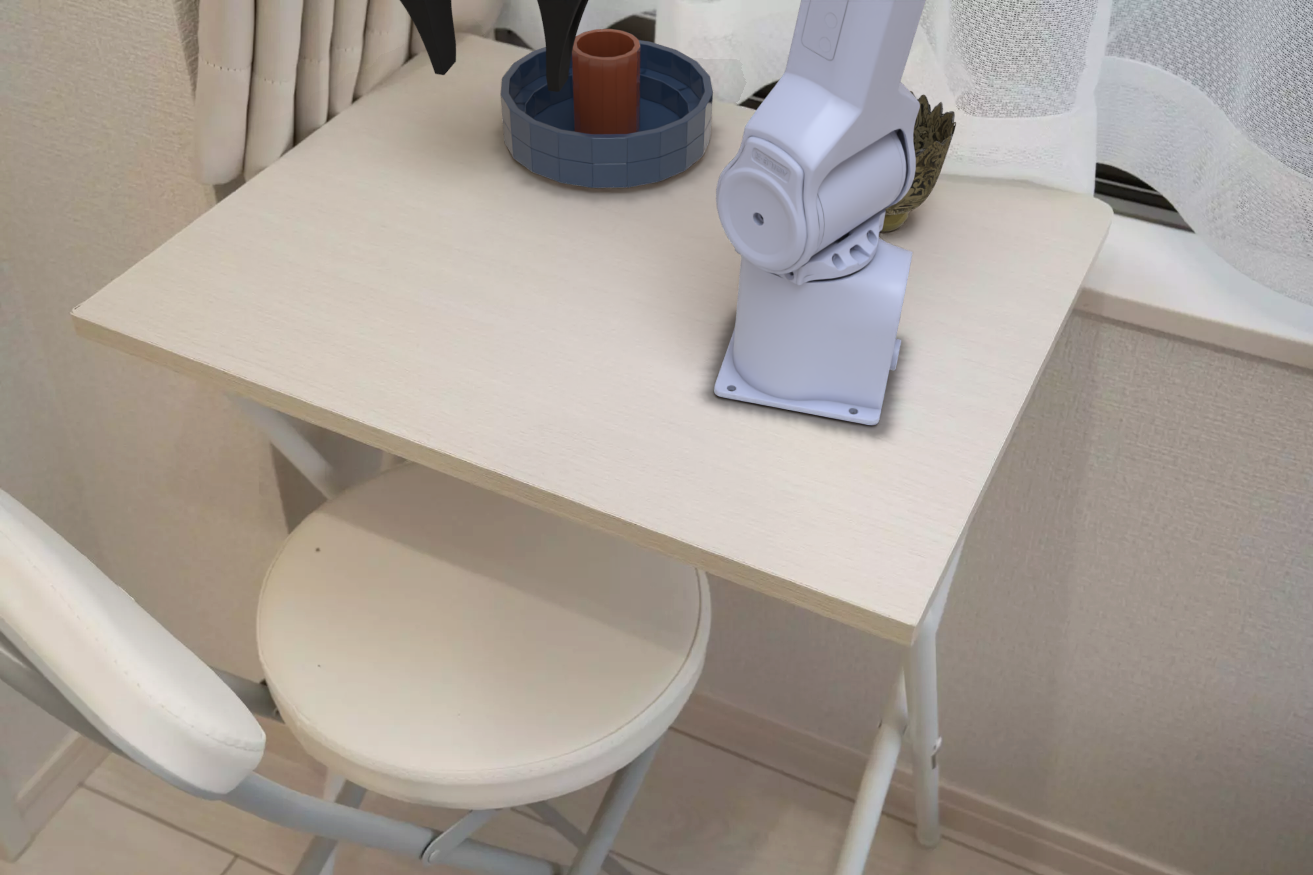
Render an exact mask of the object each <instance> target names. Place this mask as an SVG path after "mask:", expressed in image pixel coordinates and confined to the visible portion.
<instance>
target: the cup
mask: <svg viewBox="0 0 1313 875" xmlns="http://www.w3.org/2000/svg"><path fill="white" fill-rule="evenodd" d="M639 40H640V39H639V38H637V37H636V36H635V35H634V34H632V33H629V32H627V31H625V30H620V29H613V28H596V29H591V30H587V31H584V32H581V33H579V34H576V38H575V42H574V46H573V50H572V55H571V56H572V86H573V116H574V132H580V133H587V134H629V133H634V132H639V121H640V43H639Z"/></svg>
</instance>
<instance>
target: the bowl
mask: <svg viewBox="0 0 1313 875" xmlns="http://www.w3.org/2000/svg"><path fill="white" fill-rule="evenodd" d="M638 40H639V43H640V121H639V132H634V133H629V134H587V133H580V132H574V116H573V86H572V56H571V60H570V67H569V76H568V80H567V81H566V83H565V84H564V86H563V87H562V89H561V90H560V91H559V92H554V91H548V86H547V79H546V46H544V47H542V48H541V47H540V48H538V49H536V50H532V51H531V52H529V53H528V54H526V55H524V56H522V57H520V58H519V59H517V60H516V61H515V62H513V63H512V64H511V66H510V67H509V68H508V69H507V71H506V72H505V73H504V75H503V76H502V77H501V82H500V83H501V84H500V107H501V117H502V118H501V119H502V131H503V142H504V144H505V146H506V148H507V150H508V151H509V153H510V154H511V156H512V158H513V159H514V160H515V161H516V162H518V163H519V164H520V165H522V166H523V167H525V168H526V169H527V170H528V171H530V172H532V173H534V174H536V175H538V176H541V177H543V178H547V179H549V180H552V181H554V182H557V183H560V184H564V185H569V186H570V185H571V186H578V187H584V188H588V189H589V188H590V189H613V188H614V189H619V188H621V189H625V188H626V189H629V188H633V187H639V186H643V185H649V184H654V183H655V184H656V183H659V182H662V181H664V180H667V179H669V178H671V177H674V176H677V175H679V174H681V173H683V172H685V171H687V170H688V169H689V168H690V167H692V166H693V165H694V164H695V163H697V162H698V161H699V160H700V159H701V158H703V156H704V154H705V152H706V150H707V148H708V146H709V143H710V141H711V135H712V119H713V118H712V116H713V102H714V101H713V100H714V90H713V89H714V88H713V85H712V79H711V76H710V75H709V73H708V72H707V71H706V70H705V68H704V67H702V65H701V64H700V63H699V62H698V61H697V60H696V59H693V58H692V57H690V56H688V55H686V54H685V53H683V52H682V51H680V50H678V49H675V48H672V47H669V46H666V45H663V44H660V43H656V42H652V41H649V40H641V39H638Z"/></svg>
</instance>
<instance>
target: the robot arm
mask: <svg viewBox="0 0 1313 875" xmlns="http://www.w3.org/2000/svg"><path fill="white" fill-rule="evenodd" d="M926 1H927V0H800V3H799V9H798V13H797V17H796V21H795V26H794V31H793V35H792V38H791V39H792V40H791V44H790V49H789V52H788V57H787V61H786V66H785V70H784V72H783V74H782V75H781V77H780V78H779V79H778V81H777V83H775V85H774V86H773V88H772V89H771V90H770V92H769V93H768V94H767V95H766V97H765V98H764V100H762V101H761V104H759V106H757V109H756V110H755V111H754V113H753V114H752V115H751V117H750V118H749V119H748V120H747V122H746V124H745V126H744V129H743V134H742V139H741V142H740V145H739V148H738V150H737V153H736V154H735V156H734V157H733V158H732V159H731V160H730V161H729V162H728V163H727V164H726V165H725V166H724V167H723V170H722V171H721V173H720V175H719V177H718V179H717V183H716V187H715V203H716V210H717V215H718V219H719V222H720V225H721V227H722V229H723V231H724V234H725V236H726V238H727V239H728V241H729V242H730V244H731V245H732V246H733V248H734V252H736V254H738V255H740V264H739V265H740V266H739V275H738V288H737V290H738V291H737V300H736V312H735V324H734V328H733V331H732V334H731V337H730V339H729V342H728V346H727V348H726V352H725V354H724V357H723V360H722V363H721V366H720V368H719V371H718V374H717V377H716V380H715V382H714V388H713V392H714V395H716V396H718V397H720V398H725V399H730V400H735V401H741V402H746V403H752V404H756V405H761V406H767V407H773V408H776V409H777V408H778V409H783V410H789V411H793V412H800V413H804V414H810V415H813V416H814V415H815V416H820V417H825V418H830V419H836V420H840V421H847V422H852V423H857V424H862V425H867V426H875V425H878V423H879V422H880V419H881V415H882V409H883V403H884V399H885V394H886V389H887V384H888V379H889V374H890V371H896V369H897V365H898V360H899V354H900V351H901V350H900V349H901V344H902V339H901V338H897V336H898V331H899V330H898V329H899V326H900V322H901V321H900V320H901V314H902V311H903V305H904V301H905V295H906V290H907V286H908V280H909V274H910V270H911V265H912V259H913V253H914V252H913V251H911V250H909V249H907V248H903V247H899V246H897V245H895V244H893V243H890V242H887V241H885V240H884V239H882V238H881V237H880V232H882V231H881V230H882V229H883V223H884V217H885V212H886V210H885V209H887V208H888V207H890V206H892V205H894V204H896V203H897V202H899V201H900V200H901V199H902V198H903V197H904V196H905V195H906V194H907V192H908V191H909V189H910V187H911V185H912V182H913V180H914V176H915V170H916V158H915V150H914V143H913V132H914V125H915V121H916V118H917V115H918V112H919V109H920V104H919V102H918V100H917V99H918V98H917V97H916V96H915V97H916V98H915V97H914V96H913V94H912V93H911V92H910V91H911V90H909V89H908V88H907V86H906V85H905V84H904V83H903V82H901V81H902V78H903V75H904V71H905V69H906V65H907V62H908V58H909V56H910V52H911V50H912V46H913V43H914V39H915V36H916V33H917V29H918V27H919V23H920V20H921V17H922V14H923V10H924V7H925V4H926ZM399 2H400V3H401V5H402V6H403V8H404V9H405V11H406V12H407V14H408V15H409V17H410V19H411V20H412V22H413V24H414V26H415V28H416V30H417V32H418V34H419V37H420V39H421V41H422V43H423V45H424V47H425V50H426V53H427V55H428V58H429V61H430V63H431V64H430V65H431V66H432V69H433V72H434V74H435V75H439V76H446V74H447V73H448V72H449V71H450V69H451V68H452V67H453V66H454V65H455V64H456V62H457V40H456V33H455V24H454V17H453V8H452V7H453V6H452V0H399ZM536 2H537V5H538V9H539V13H540V18H541V22H542V23H541V24H542V28H543V35H544V43H545V47H546V79H547V86H548V91H554V92H559V91H560V90H561V89H562V87H563V86H564V84H565V83H566V81H567V80H568V76H569V67H570V60H571V55H572V50H573V46H574V42H575V38H576V36H577V35H578V30H579V27H580V24H581V21H582V19H583V16H584V13H585V10H586V8H587V5H588V3H589V0H536Z"/></svg>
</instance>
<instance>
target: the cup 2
mask: <svg viewBox="0 0 1313 875" xmlns="http://www.w3.org/2000/svg"><path fill="white" fill-rule="evenodd" d="M909 91H910V92H911V93H912V94H913V96H914V97H915V98H916V99H917V100H918V102H919V104H920V109H919V112H918V115H917V118H916V121H915V125H914V132H913V143H914V150H915V158H916V170H915V176H914V180H913V182H912V185H911V187H910V189H909V191H908V192H907V194H906V195H905V196H904V197H903V198H902V199H901V200H900V201H899V202H897V203H896V204H894V205H892V206H890V207H888V208H887V209H885V210H886V212H885V217H884V223H883V229H882V230H881V231H880V232H892V231H895V230H897V229H899V228H901V227H902V226H903V225H904V224H905V222H906V221H907V219H908V218H909V214H910V212H911V211H913V210H915V209H917V208H918V207H920V206H921V205H922V204H923V203H924V202H925V201H926V200H927V199H928V198H929V196H930V195H931V193H932V192H933V190H934V188H935V186H936V184H937V182H938V179H939V177H940V174H941V172H942V169H943V166H944V163H945V160H946V157H947V155H948V152H949V148H950V146H951V143H952V140H953V137H954V134H955V130H956V127H957V122H956V121H955V117H956V115H955V114H956V113H955V111H953V110H949V111H946V112H944V107H943V106H944V104H943V102H942V101H940V102H938V104H935V105H934V107H933V108H932V106H931V104H930V103H929V99H928V97H927V95H926V94H921V95H920V96H919V97H918V98H917V97H916V95H915V93H914V92H913V91H912V90H909ZM943 112H944V113H943Z"/></svg>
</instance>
